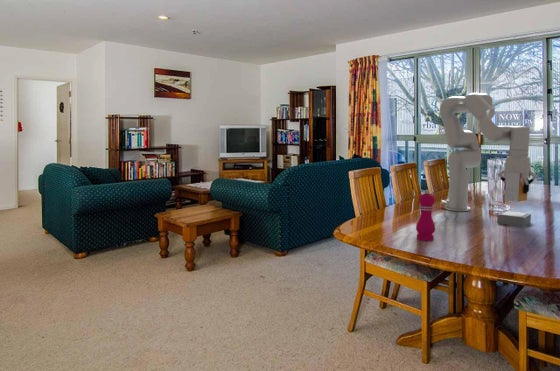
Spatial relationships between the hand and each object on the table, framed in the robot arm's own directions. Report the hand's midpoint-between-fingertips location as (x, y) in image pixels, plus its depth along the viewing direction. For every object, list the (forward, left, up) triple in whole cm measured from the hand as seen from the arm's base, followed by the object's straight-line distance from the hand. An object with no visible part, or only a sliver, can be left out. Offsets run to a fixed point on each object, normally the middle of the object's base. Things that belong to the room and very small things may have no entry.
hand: (516, 192), depth 196 cm
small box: (0, 0, -4) cm, 4 cm away
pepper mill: (-18, -54, -14) cm, 59 cm away
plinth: (0, 0, -14) cm, 14 cm away
